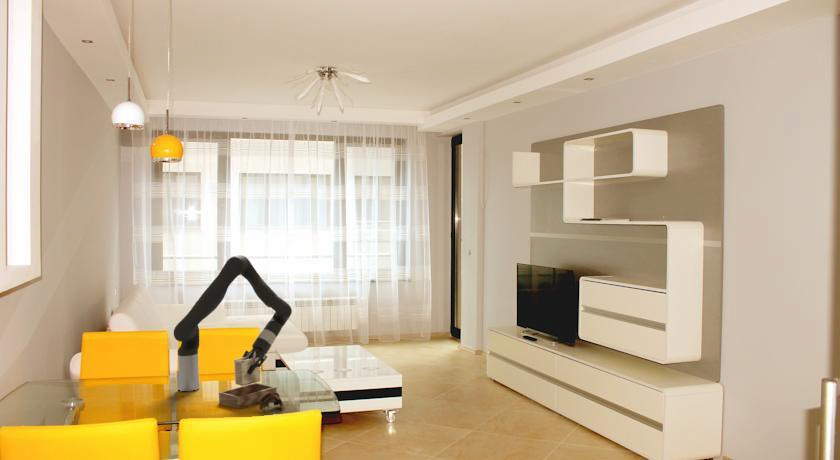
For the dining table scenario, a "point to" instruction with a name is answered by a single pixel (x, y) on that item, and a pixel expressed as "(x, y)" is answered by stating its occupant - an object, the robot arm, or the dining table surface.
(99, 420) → the dining table surface
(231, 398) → the walnut crate
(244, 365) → the birch crate
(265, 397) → the pottery mug
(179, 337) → the robot arm
